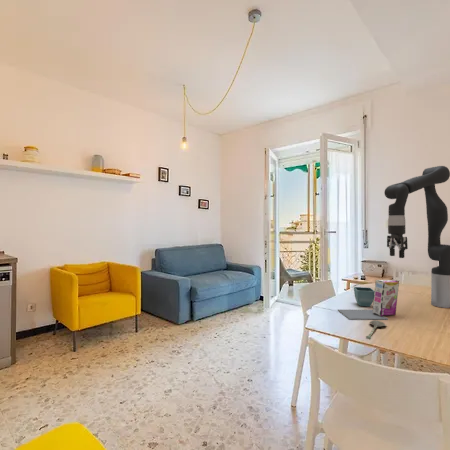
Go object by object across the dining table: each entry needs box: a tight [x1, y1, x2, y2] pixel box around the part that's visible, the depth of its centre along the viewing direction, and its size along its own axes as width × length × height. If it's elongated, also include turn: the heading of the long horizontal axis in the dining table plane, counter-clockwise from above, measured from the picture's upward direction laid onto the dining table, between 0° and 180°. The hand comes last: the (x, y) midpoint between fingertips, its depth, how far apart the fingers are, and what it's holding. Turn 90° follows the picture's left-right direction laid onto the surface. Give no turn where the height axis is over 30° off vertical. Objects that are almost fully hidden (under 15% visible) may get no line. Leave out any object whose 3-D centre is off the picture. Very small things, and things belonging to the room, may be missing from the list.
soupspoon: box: [365, 320, 387, 340], centre depth 122 cm, size 22×3×7 cm
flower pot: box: [353, 286, 375, 307], centre depth 159 cm, size 9×9×9 cm
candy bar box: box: [372, 279, 400, 317], centre depth 142 cm, size 11×5×16 cm, turn 116°
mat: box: [337, 309, 389, 321], centre depth 142 cm, size 18×14×1 cm
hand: (396, 256), depth 147 cm, fingers open, 8 cm apart
